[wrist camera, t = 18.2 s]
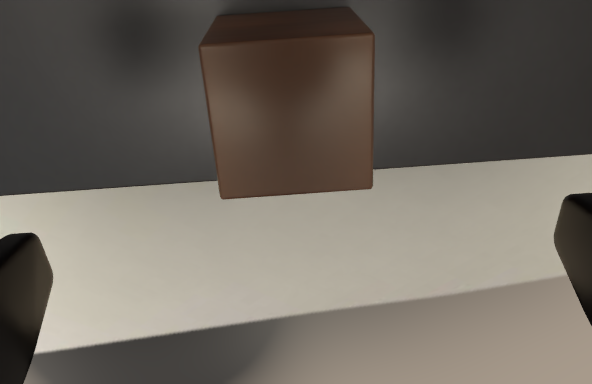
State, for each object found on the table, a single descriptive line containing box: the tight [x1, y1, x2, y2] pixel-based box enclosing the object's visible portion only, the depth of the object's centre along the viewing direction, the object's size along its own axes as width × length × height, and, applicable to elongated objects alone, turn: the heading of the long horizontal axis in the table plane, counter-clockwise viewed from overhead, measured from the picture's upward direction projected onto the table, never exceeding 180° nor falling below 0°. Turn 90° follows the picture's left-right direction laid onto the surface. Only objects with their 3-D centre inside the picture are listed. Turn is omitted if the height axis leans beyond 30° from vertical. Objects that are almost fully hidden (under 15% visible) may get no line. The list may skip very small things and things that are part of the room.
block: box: [198, 7, 375, 199], centre depth 14 cm, size 4×4×4 cm
